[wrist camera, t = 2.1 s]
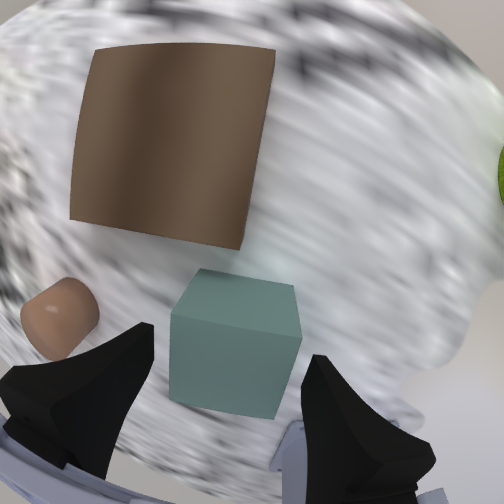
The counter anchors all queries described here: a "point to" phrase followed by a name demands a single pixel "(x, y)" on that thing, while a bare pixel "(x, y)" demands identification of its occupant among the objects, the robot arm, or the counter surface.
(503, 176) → the soap dispenser
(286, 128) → the counter surface
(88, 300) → the tan round knob
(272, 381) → the cube
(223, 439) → the counter surface
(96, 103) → the base
